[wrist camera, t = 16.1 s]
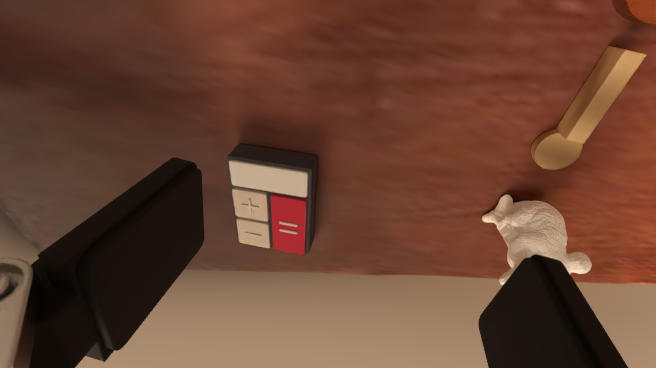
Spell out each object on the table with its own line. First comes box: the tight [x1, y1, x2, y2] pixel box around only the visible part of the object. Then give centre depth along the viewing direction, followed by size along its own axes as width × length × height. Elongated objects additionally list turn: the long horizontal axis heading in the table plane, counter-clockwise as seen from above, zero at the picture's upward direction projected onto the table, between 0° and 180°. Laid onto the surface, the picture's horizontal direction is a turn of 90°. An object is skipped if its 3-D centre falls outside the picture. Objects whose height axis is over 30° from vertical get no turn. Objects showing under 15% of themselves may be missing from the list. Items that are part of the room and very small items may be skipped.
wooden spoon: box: [531, 46, 646, 170], centre depth 31 cm, size 12×4×3 cm, turn 169°
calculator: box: [227, 144, 318, 255], centre depth 43 cm, size 11×4×15 cm
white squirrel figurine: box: [482, 194, 592, 285], centre depth 34 cm, size 8×7×12 cm
